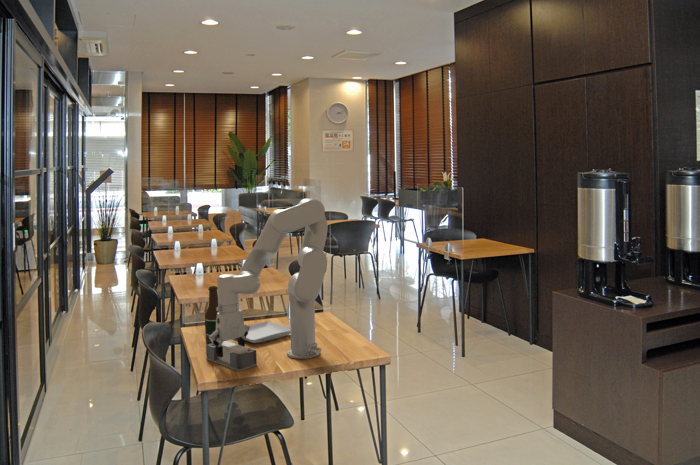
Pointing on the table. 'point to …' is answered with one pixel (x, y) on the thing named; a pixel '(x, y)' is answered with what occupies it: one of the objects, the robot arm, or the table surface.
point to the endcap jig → (233, 358)
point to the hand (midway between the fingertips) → (230, 353)
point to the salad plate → (266, 332)
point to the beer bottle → (211, 314)
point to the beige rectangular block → (231, 350)
